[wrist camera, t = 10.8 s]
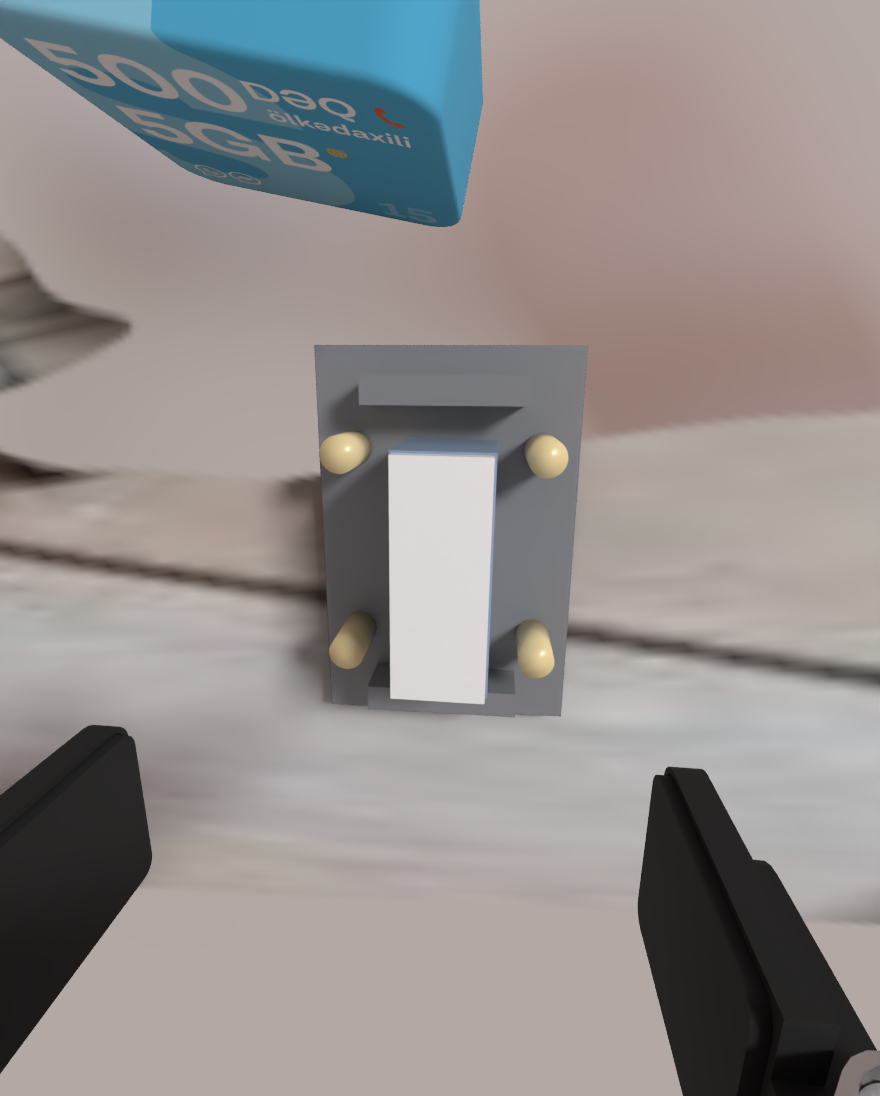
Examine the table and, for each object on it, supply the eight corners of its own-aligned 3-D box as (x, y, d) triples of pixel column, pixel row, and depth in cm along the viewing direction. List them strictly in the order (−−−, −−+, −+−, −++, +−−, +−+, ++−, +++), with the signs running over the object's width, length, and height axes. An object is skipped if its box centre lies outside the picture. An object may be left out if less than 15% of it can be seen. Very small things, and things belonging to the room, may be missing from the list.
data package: (195, 179, 25) (-61, -1, 13) (203, 58, 24) (-72, -256, 12) (461, 234, 25) (434, 97, 13) (485, 113, 23) (477, -156, 12)
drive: (496, 440, 26) (497, 454, 20) (488, 642, 28) (487, 706, 23) (409, 438, 26) (385, 451, 20) (409, 638, 29) (388, 700, 23)
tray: (584, 347, 25) (600, 339, 21) (558, 705, 30) (568, 752, 26) (320, 346, 26) (291, 339, 22) (336, 693, 31) (315, 736, 27)
